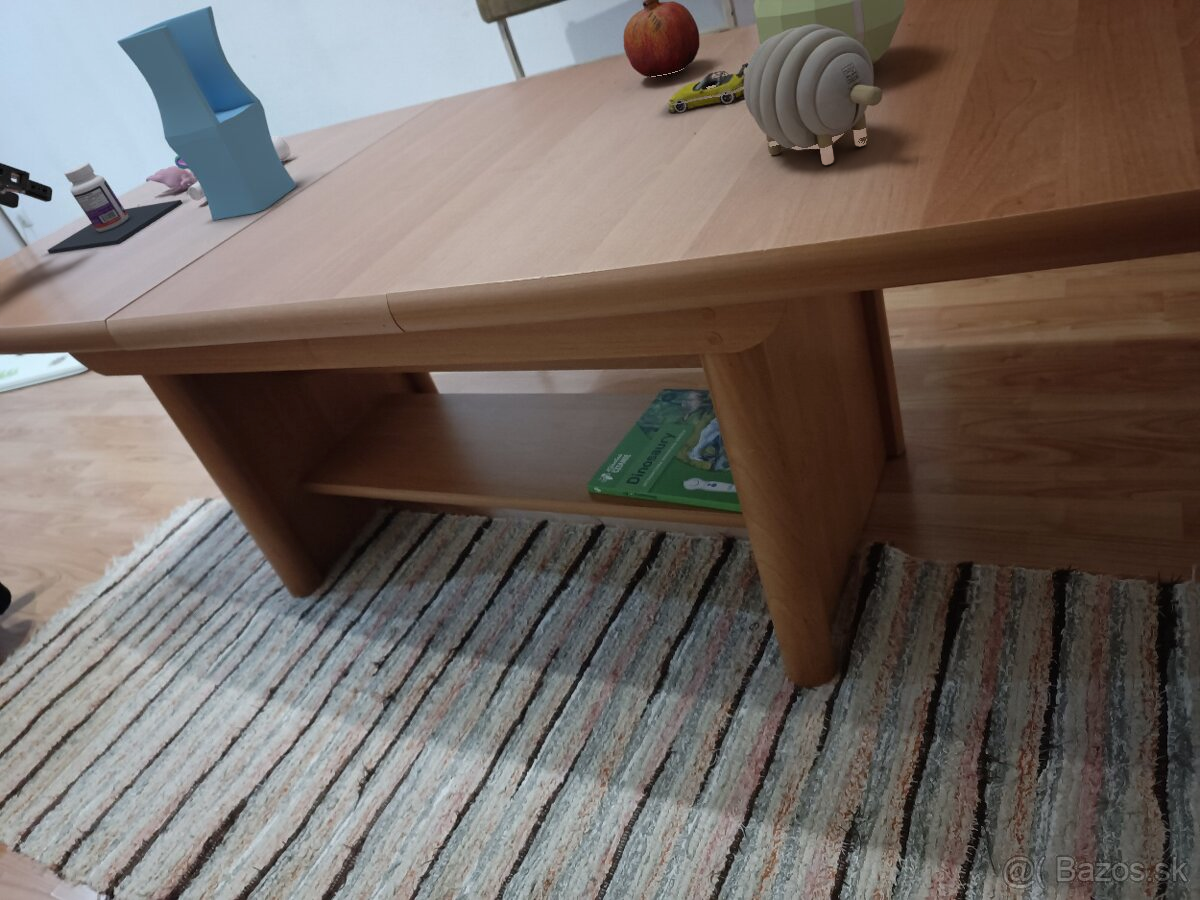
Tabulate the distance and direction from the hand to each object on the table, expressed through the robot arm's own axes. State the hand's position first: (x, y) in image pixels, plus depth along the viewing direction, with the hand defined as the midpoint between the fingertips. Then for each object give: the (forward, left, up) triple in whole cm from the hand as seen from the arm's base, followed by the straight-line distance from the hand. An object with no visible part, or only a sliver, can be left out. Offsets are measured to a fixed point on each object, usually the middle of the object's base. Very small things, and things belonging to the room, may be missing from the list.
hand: (33, 198), depth 130 cm
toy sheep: (+116, 0, -10) cm, 116 cm away
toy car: (+99, +21, -10) cm, 102 cm away
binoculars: (+19, +21, -10) cm, 30 cm away
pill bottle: (0, +9, -9) cm, 13 cm away
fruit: (+89, +35, -10) cm, 96 cm away
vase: (+31, +11, -10) cm, 34 cm away
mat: (0, +9, -9) cm, 13 cm away
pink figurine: (+3, +23, -10) cm, 25 cm away
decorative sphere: (+114, +21, -10) cm, 116 cm away
